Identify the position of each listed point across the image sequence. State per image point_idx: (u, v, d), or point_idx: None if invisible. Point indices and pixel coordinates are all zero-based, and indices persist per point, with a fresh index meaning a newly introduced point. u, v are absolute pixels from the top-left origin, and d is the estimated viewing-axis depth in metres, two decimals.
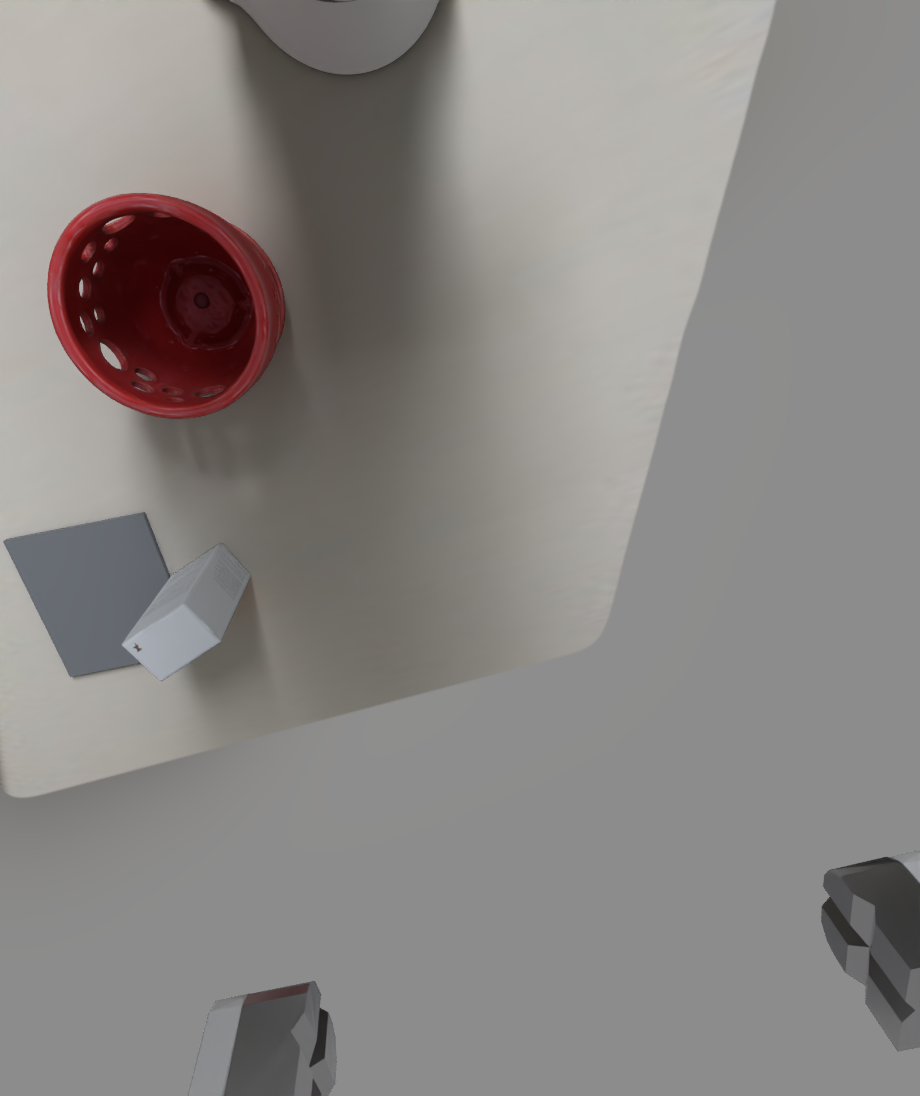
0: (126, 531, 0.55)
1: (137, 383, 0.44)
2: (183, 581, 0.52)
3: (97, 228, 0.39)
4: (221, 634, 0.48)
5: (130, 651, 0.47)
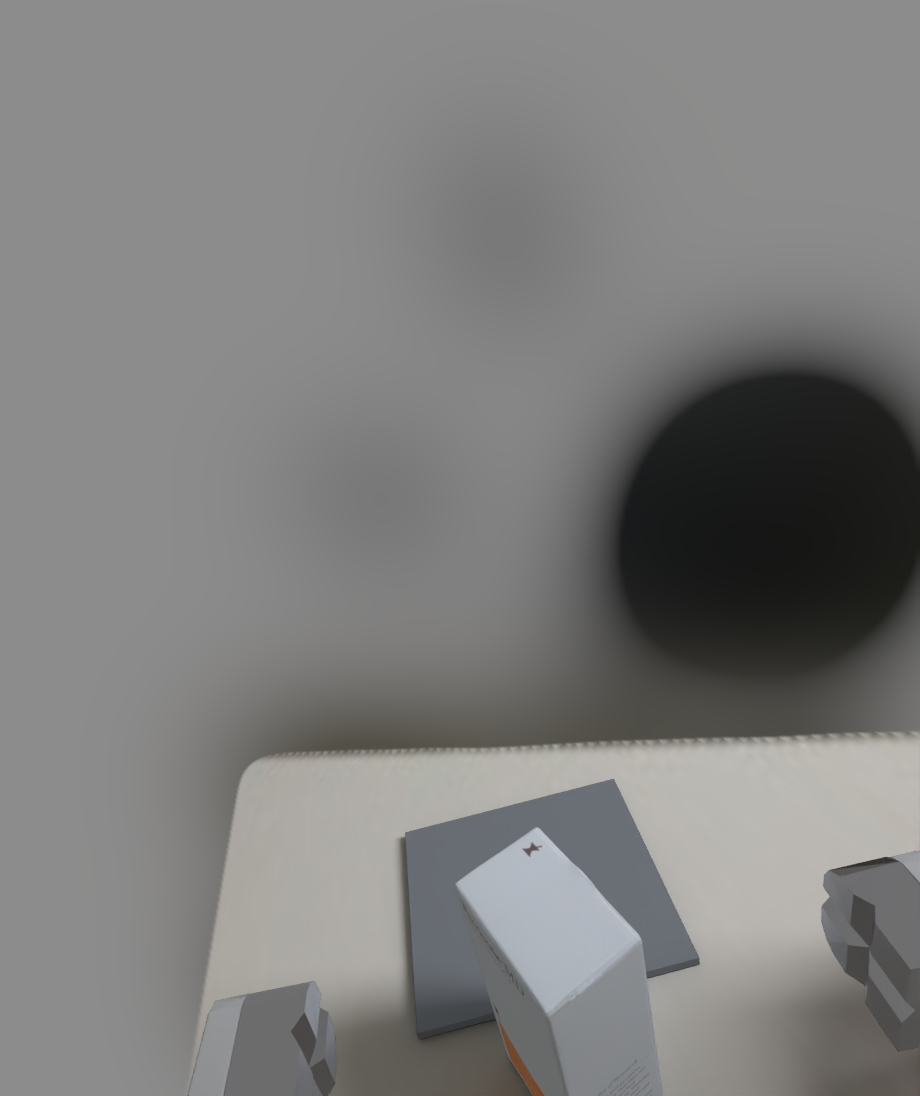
0: (659, 927, 0.33)
1: None
2: None
3: None
4: (556, 1026, 0.20)
5: (524, 838, 0.25)
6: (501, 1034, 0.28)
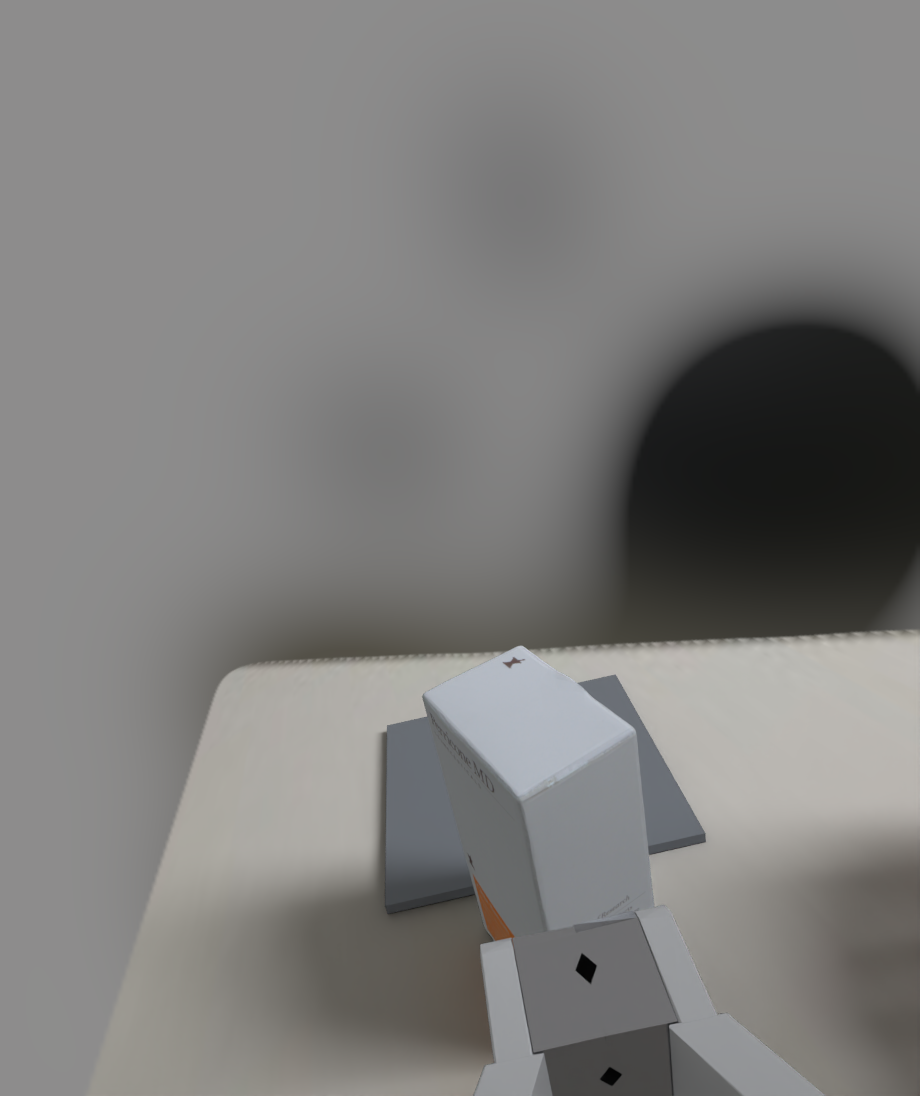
0: (660, 805, 0.29)
1: None
2: None
3: None
4: (530, 817, 0.17)
5: (505, 654, 0.22)
6: (477, 897, 0.25)
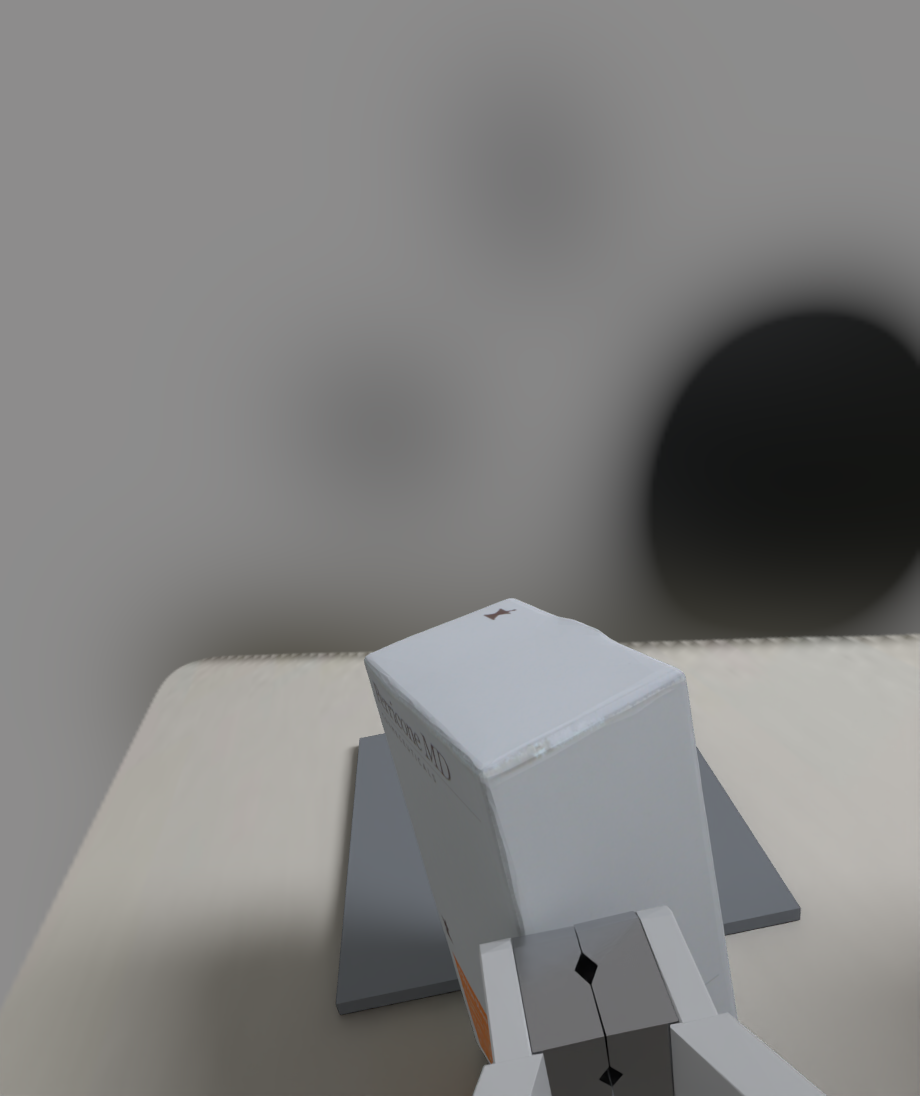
0: (730, 862, 0.21)
1: None
2: None
3: None
4: (505, 812, 0.10)
5: (488, 606, 0.15)
6: (463, 992, 0.17)
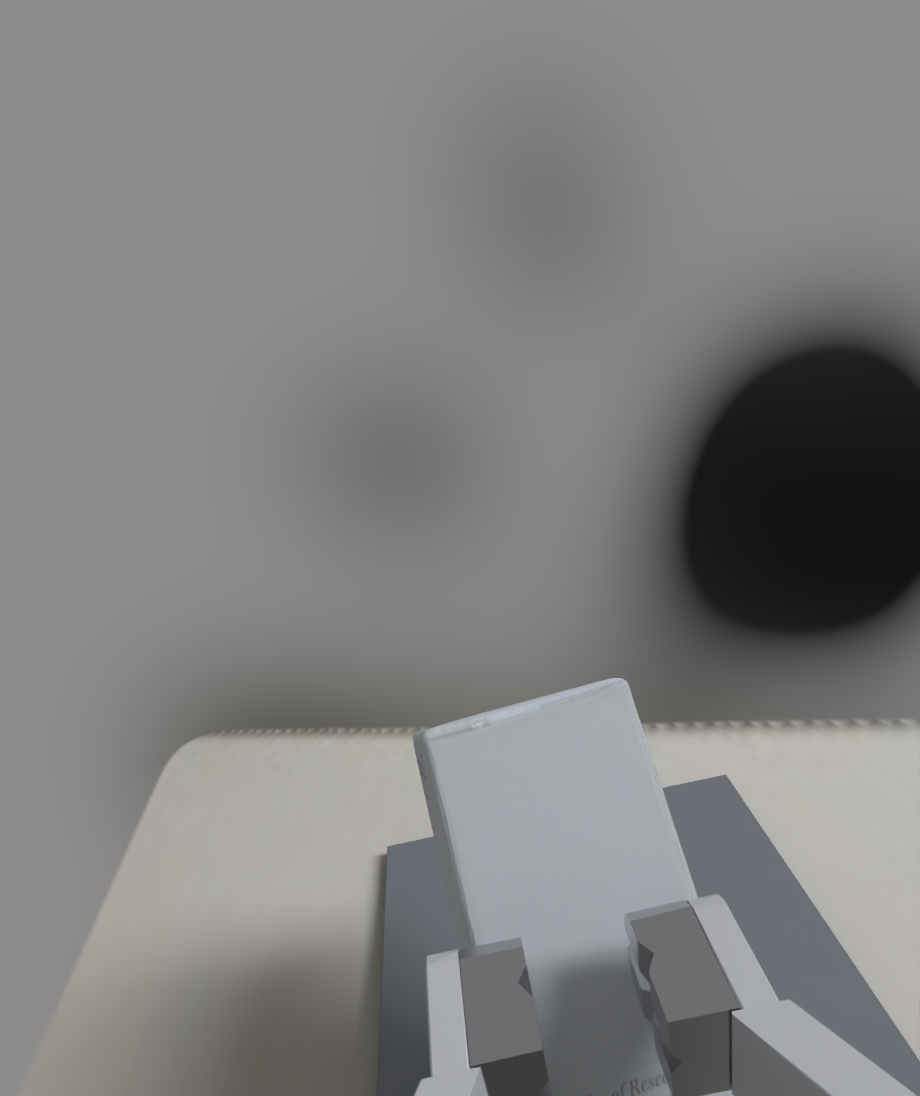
0: (860, 1051, 0.16)
1: None
2: None
3: None
4: (445, 773, 0.11)
5: None
6: None
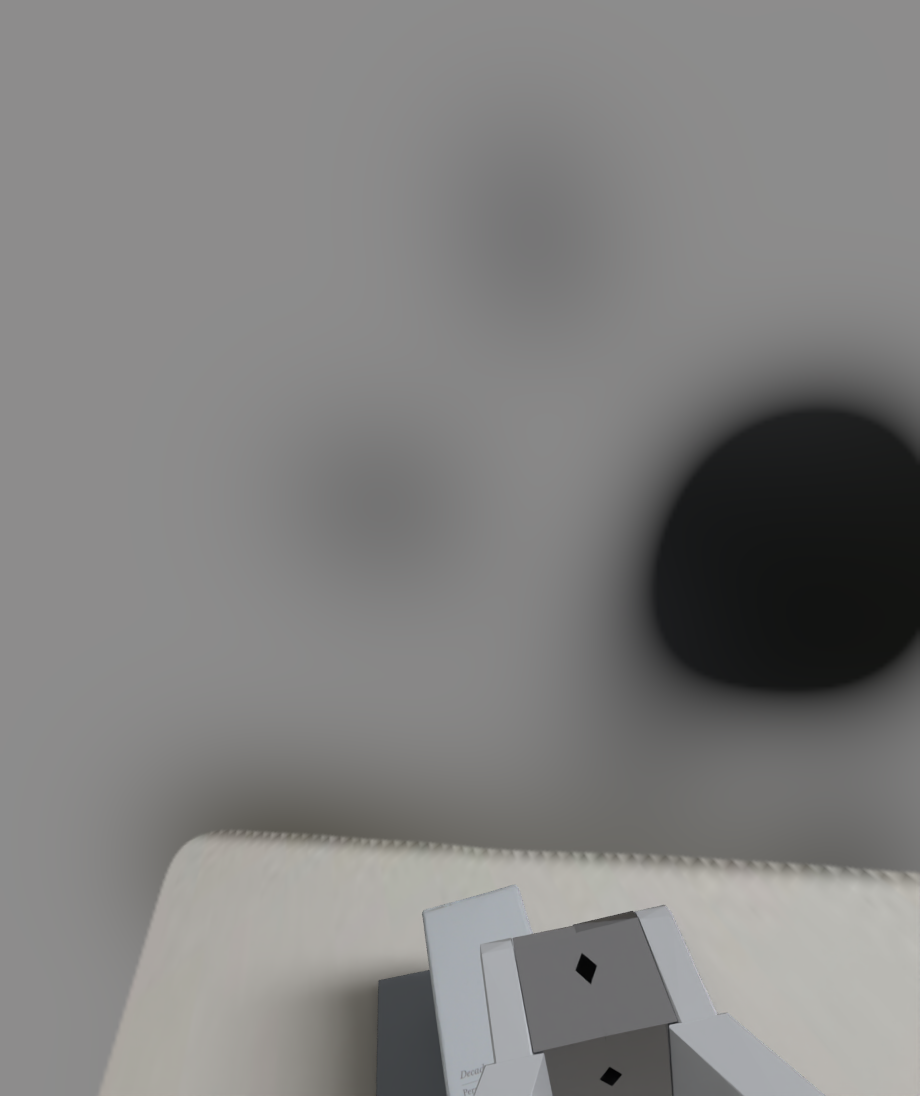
0: None
1: None
2: None
3: None
4: (430, 925, 0.25)
5: None
6: None
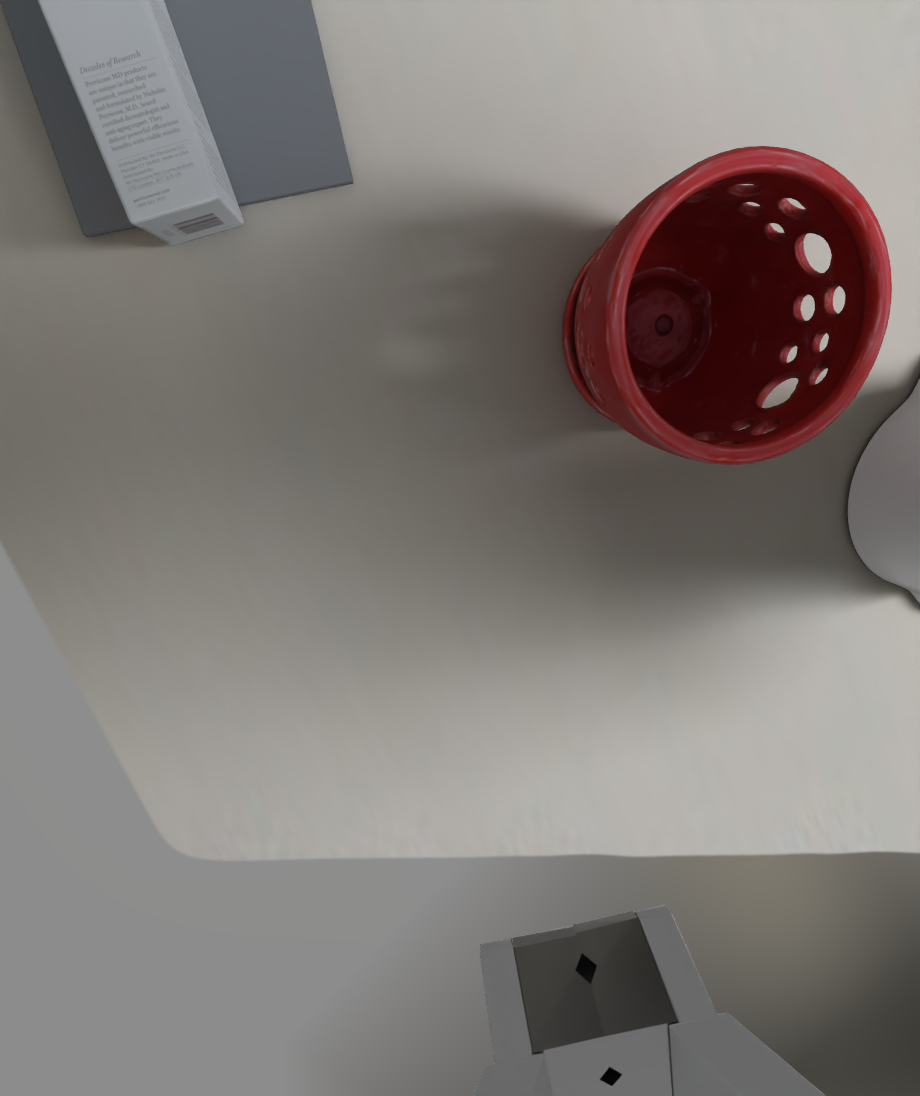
0: (320, 144, 0.33)
1: None
2: (184, 80, 0.29)
3: (827, 231, 0.29)
4: None
5: None
6: None
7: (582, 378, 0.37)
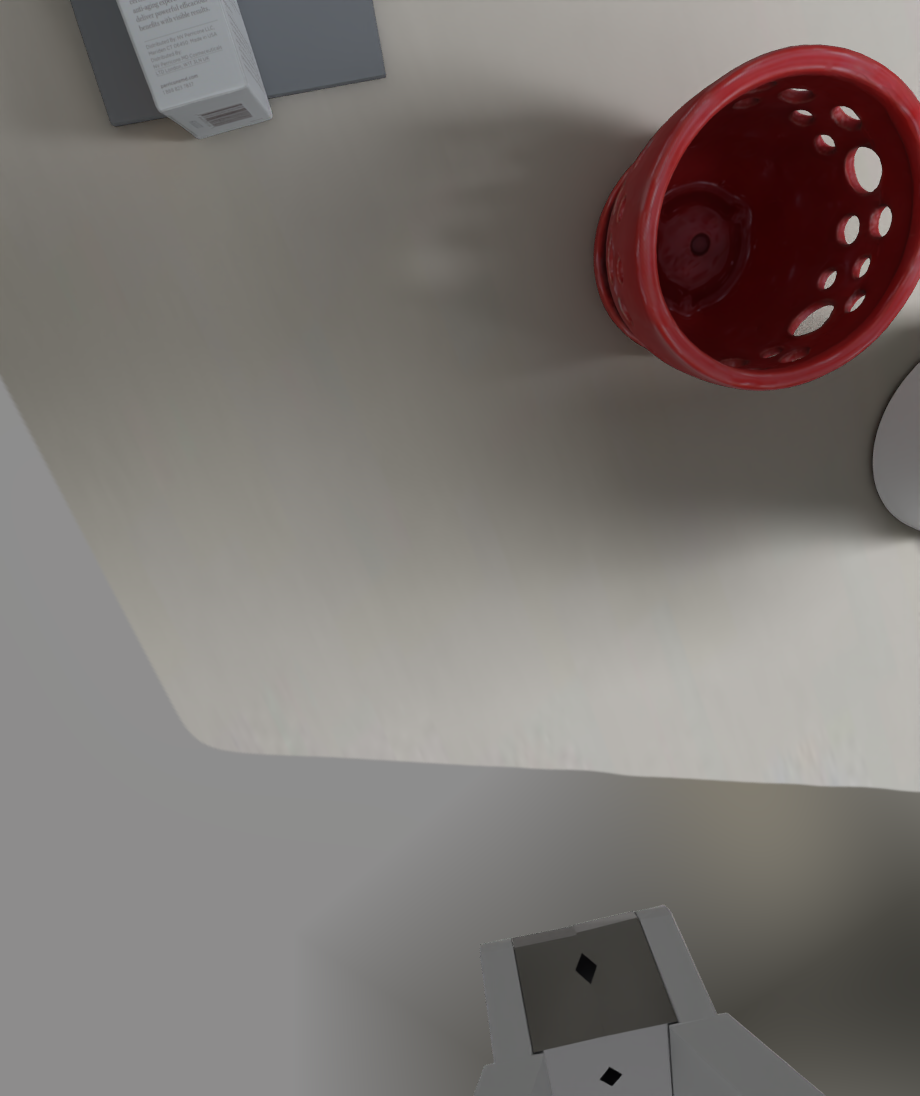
0: (353, 32, 0.32)
1: None
2: None
3: (880, 145, 0.28)
4: None
5: None
6: None
7: (611, 298, 0.36)
